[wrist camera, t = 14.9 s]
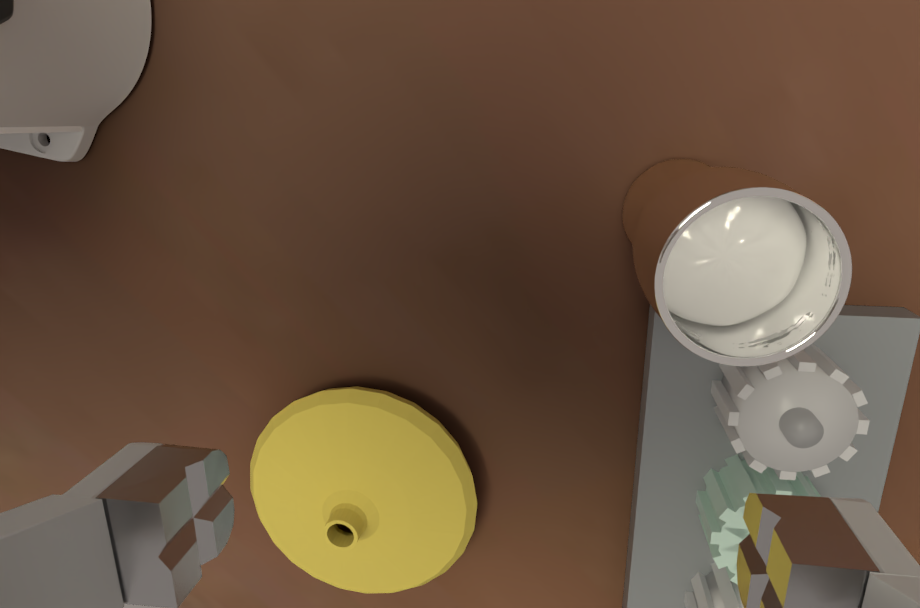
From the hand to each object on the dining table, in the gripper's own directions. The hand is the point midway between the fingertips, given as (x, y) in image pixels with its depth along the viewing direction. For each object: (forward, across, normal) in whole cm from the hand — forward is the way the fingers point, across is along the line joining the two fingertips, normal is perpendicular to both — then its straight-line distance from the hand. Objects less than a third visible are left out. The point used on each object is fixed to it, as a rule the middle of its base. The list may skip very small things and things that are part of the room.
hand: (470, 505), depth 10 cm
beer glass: (+29, -8, 0) cm, 30 cm away
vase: (+30, +11, +19) cm, 37 cm away
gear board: (+29, -14, +18) cm, 37 cm away
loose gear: (+27, -14, +17) cm, 35 cm away
